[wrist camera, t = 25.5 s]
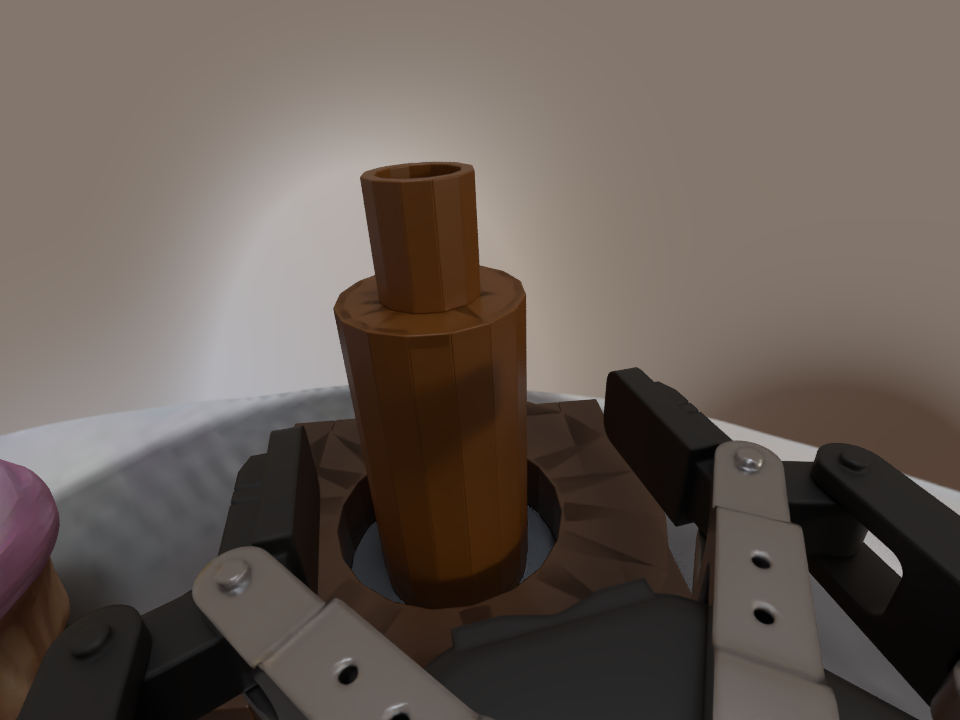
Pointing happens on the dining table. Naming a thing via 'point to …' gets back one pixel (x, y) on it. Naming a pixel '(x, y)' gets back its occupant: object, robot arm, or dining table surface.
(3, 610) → the cupcake
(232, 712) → the board
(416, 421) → the bottle
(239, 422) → the dining table surface
